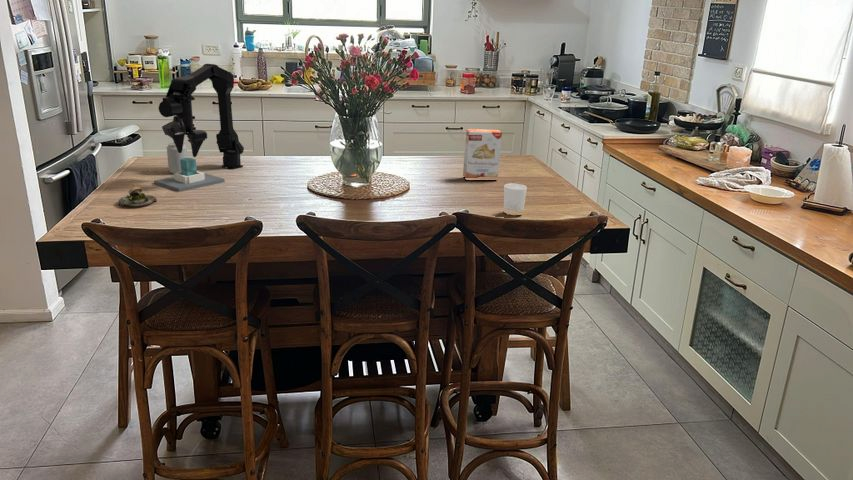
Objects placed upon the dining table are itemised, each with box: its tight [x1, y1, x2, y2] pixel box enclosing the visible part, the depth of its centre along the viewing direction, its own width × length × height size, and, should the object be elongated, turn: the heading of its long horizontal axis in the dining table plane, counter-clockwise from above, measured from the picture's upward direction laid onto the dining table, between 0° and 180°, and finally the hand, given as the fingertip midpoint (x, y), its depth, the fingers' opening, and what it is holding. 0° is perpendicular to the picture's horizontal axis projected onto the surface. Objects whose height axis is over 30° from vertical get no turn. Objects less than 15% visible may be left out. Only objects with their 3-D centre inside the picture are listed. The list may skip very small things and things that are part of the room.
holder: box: [153, 170, 226, 193], centre depth 253 cm, size 20×16×4 cm
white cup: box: [503, 183, 528, 211], centre depth 233 cm, size 8×8×10 cm
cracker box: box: [462, 128, 503, 178], centre depth 275 cm, size 14×6×21 cm, turn 99°
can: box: [166, 141, 188, 175], centre depth 265 cm, size 8×8×12 cm
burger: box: [118, 183, 157, 209], centre depth 226 cm, size 12×12×8 cm
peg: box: [180, 157, 198, 176], centre depth 252 cm, size 4×4×8 cm
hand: (187, 154), depth 250 cm, fingers open, 9 cm apart
